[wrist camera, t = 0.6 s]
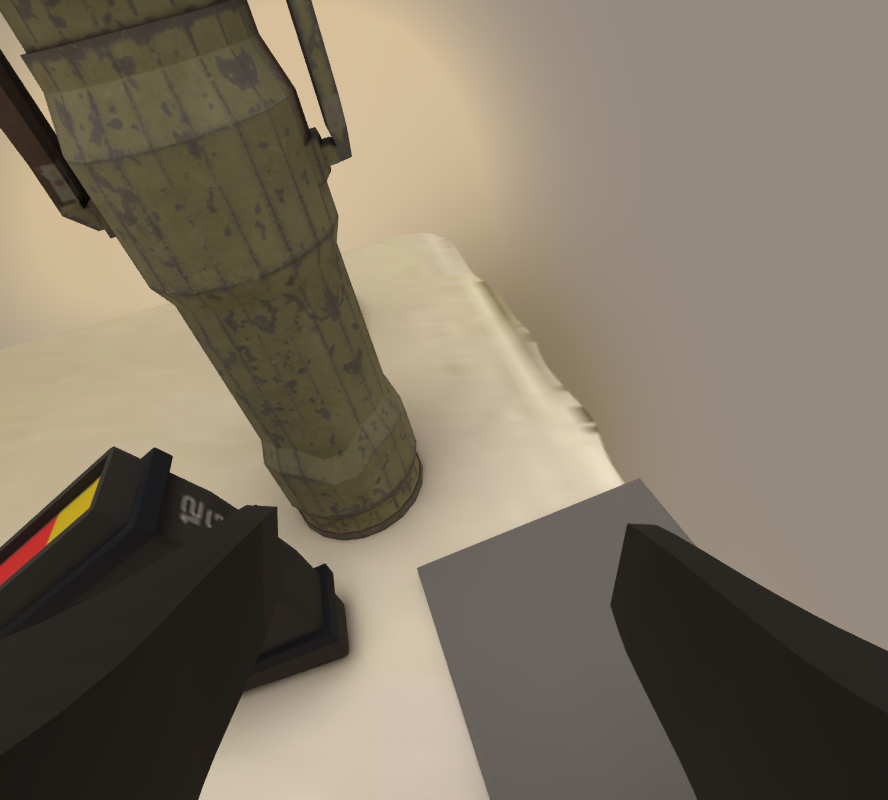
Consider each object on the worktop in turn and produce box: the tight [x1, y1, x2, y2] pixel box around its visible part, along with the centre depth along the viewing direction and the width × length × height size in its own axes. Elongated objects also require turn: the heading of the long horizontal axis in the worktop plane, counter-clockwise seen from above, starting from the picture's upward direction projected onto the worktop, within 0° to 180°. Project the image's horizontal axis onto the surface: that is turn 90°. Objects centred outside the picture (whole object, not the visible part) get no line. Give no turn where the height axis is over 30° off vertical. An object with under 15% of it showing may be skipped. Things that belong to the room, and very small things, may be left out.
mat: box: [417, 478, 697, 800], centre depth 24 cm, size 14×14×1 cm
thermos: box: [0, 0, 423, 540], centre depth 23 cm, size 9×12×35 cm
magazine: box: [0, 447, 348, 691], centre depth 23 cm, size 4×13×15 cm, turn 104°
